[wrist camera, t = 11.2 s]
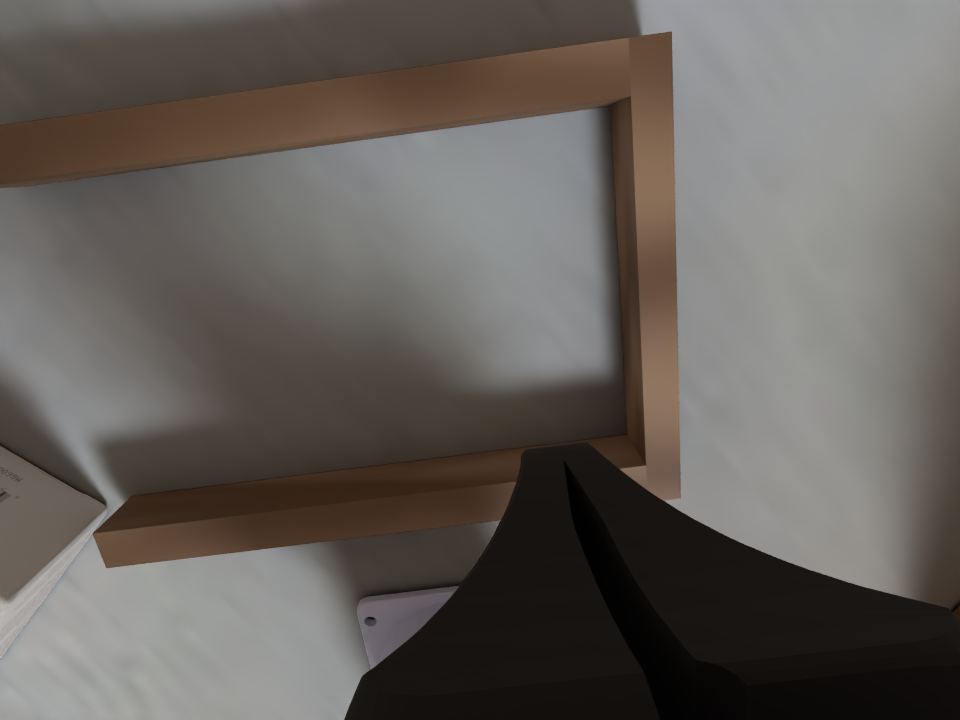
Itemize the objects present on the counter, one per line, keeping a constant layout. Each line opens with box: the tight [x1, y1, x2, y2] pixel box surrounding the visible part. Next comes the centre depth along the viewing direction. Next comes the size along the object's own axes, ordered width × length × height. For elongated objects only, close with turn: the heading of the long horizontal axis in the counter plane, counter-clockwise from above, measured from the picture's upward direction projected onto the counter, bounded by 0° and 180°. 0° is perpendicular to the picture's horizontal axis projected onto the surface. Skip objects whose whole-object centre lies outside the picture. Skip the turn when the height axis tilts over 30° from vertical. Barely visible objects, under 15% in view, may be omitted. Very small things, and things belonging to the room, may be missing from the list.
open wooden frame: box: [0, 32, 681, 568], centre depth 20 cm, size 15×21×2 cm
